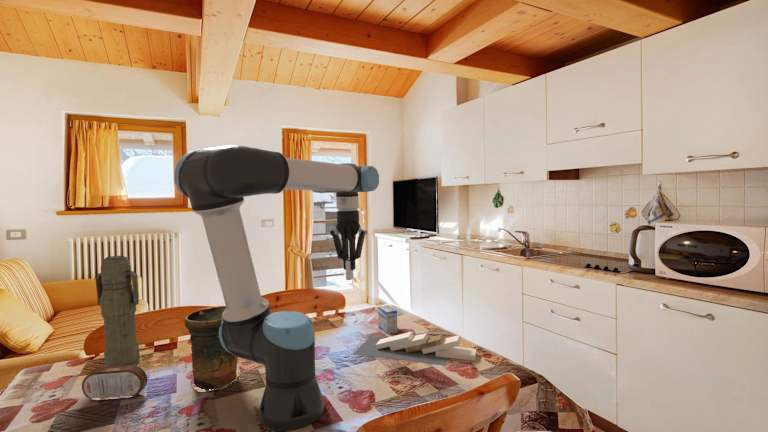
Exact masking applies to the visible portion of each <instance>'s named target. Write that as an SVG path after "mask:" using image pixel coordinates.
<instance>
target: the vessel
mask: <svg viewBox="0 0 768 432" xmlns="http://www.w3.org/2000/svg"><path fill="white" fill-rule="evenodd" d="M225 309H226V305H217V306H207V307H202V308H199V309H196V310H194V311H192V312H191V313H189V314H188V315H186V316H185V317H184V320H183V321H184V326H185V328H186V329H187V330H188V334H190V337H189V339H190V342H191V348H190V349H191V363H192V364H191V366H192V375H193V382H194V384H195V385H196V386H197V387H199V388H201V389H205V390H209V389H211V390H212V389H220V390H219V391H221V390H224V389H226V388H228V387H227V385H229V384H230V385H231V384H232V383H231V382H232V381H234V380H235V379H236V377H239V376H240V374H239V370H238V369H237V368H238V363H239V359H238V358H239V357H236V356H234V355H232V354H231V353H229V352H227V351H226V350H225V349H224V348H223V347H222V345H221V343H220V340H219V327H221V325H222V324H221V322H222V320H223V319H222V313H223V312H224V310H225ZM230 385H229V386H230ZM221 388H222V389H221Z"/></svg>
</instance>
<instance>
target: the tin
mask: <svg viewBox="0 0 768 432" xmlns="http://www.w3.org/2000/svg"><path fill="white" fill-rule="evenodd" d="M81 382H82V383H81V390H82V393H83V394H84V396H85V397H86V398H87V399H89V400H90V399H92V398H109V397H120V396H135V397H136V395H137V396H138V395H139V394H141V392H142V391H143V390H144V389H145V388H146V387H147V383H148V376H147V374H146V372H145V370H144V369H143V368H142V367H140V366H139V367H137V366H134V365H127V366H113V367H106V366H101V367H96V368H94V369H92V370H91V371H90V372H89V373H88V374H87V375H86V376H85V377H84V378H83V380H82V381H81Z"/></svg>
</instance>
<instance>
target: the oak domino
mask: <svg viewBox="0 0 768 432" xmlns="http://www.w3.org/2000/svg"><path fill="white" fill-rule="evenodd" d="M428 337H429V336H428ZM444 339H445V337H444V334H443V333H442V334H437V335H433V336H430V337H429V338H428V339H427V341H426V343H424V344H420V345H416V346H411V347H407V348H405V349H406V352H407V353H409V352H413V351H417V350H421V349H425V348H429V347H434V346H438V345H442V343H443V341H444Z"/></svg>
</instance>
